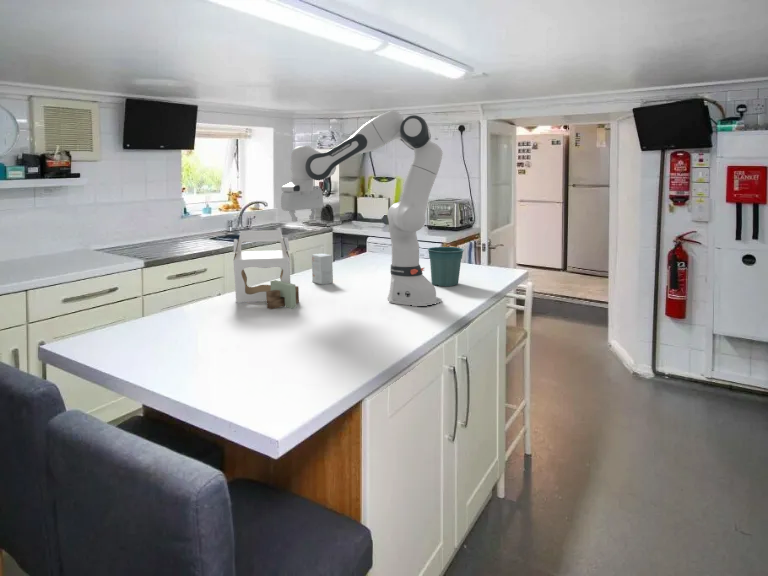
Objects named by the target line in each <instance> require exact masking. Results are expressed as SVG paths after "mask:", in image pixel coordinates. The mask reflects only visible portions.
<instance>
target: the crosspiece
mask: <svg viewBox="0 0 768 576" xmlns="http://www.w3.org/2000/svg"><path fill="white" fill-rule="evenodd" d="M270 285H271V291H272V290H280V297H284V298H285V306H284V307H285V308H289V309H294V308H297V303H296V289H295V286H296V284H295V283H291V282H290V283H286V282H281V280H275V279H274V280H270Z"/></svg>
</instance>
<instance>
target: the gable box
mask: <svg viewBox="0 0 768 576" xmlns="http://www.w3.org/2000/svg"><path fill="white" fill-rule="evenodd" d="M254 242H255V243H256V242H260V243H261V242H279V243H280V246H281V250H251V251H246V250H245V251H243V250H242V244H243V243H254ZM289 251H290V245H289V237H284V236H283V233H282V231H281V230H280V229H267V230H263V229H262V230H258V229H257V230H241V231H240V232H239V237H238V239H237V238H234V239H233V253H235V254H234V257H233V270H234V271H233V272H234V273H233V275H234V290H235V303H236V302H241V303H257V301H262V302H267V298H266V292H267V291H271V284H260V285H256V286H249V285H248V283H247V281H248V277H247V273H246V272H245V269H246V268H247V269H248V268H259V269H270V268H280V269H281V271H280V276H279V278H280V281H281V282H286V283H291V266H290V265H291V263H290V262H291V261H290V260H291V259H290V254H289Z"/></svg>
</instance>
